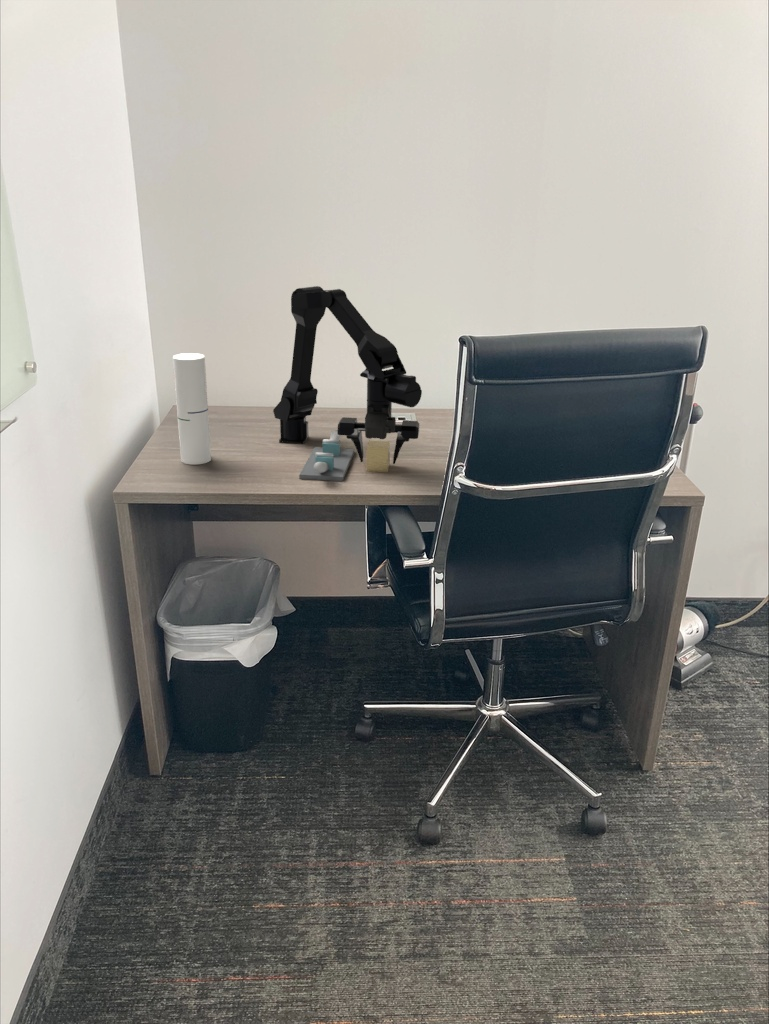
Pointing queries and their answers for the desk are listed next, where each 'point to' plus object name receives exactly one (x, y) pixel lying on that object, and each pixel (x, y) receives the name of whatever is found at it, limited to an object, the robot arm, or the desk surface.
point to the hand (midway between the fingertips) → (378, 462)
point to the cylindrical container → (192, 408)
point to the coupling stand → (328, 461)
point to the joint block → (378, 456)
